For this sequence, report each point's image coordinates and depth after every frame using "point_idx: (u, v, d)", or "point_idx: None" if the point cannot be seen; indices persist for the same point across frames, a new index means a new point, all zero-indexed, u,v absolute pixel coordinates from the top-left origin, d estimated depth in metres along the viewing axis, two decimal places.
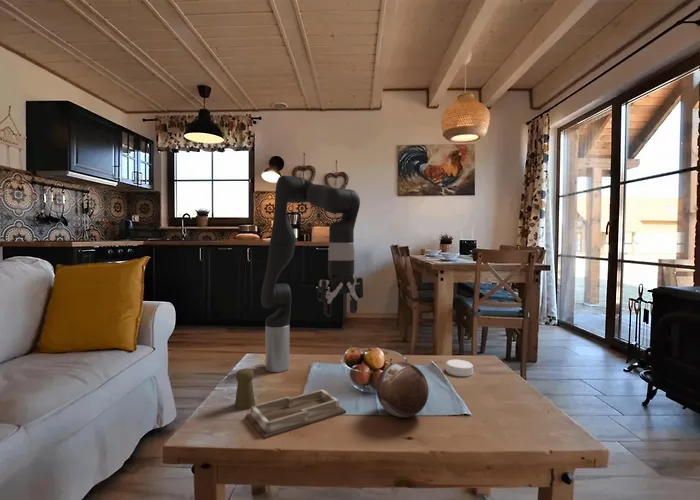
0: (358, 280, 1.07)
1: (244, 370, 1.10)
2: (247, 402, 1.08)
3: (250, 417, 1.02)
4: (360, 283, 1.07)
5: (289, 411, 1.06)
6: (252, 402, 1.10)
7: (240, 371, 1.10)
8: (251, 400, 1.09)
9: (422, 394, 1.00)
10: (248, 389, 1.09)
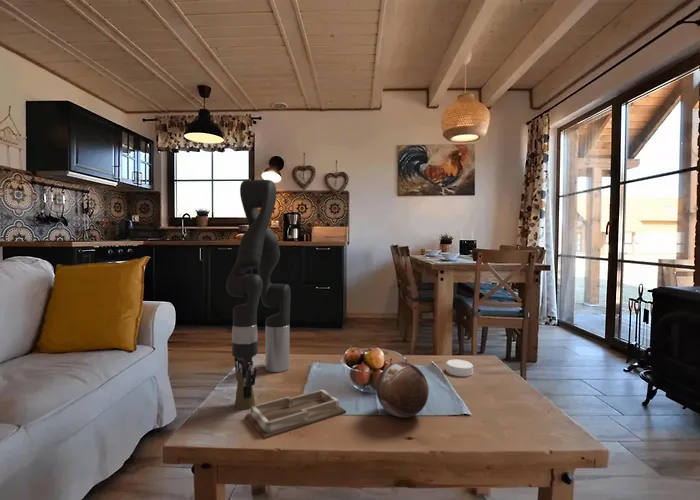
0: None
1: None
2: (246, 401, 1.09)
3: (250, 417, 1.02)
4: None
5: (289, 411, 1.06)
6: (252, 402, 1.10)
7: (240, 371, 1.10)
8: (251, 399, 1.09)
9: (422, 394, 1.00)
10: None
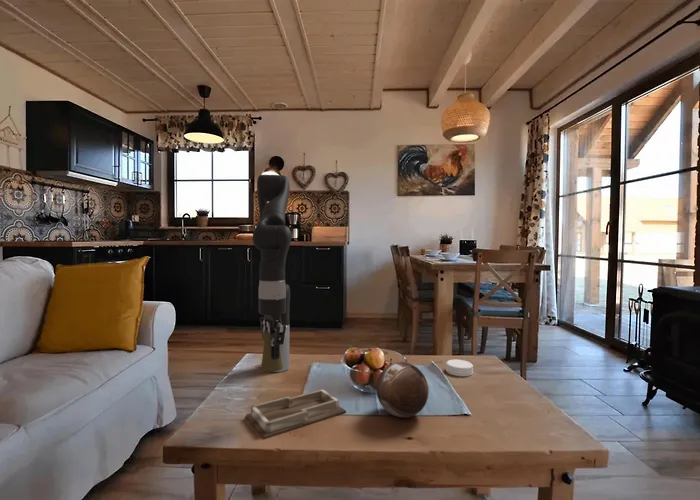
0: None
1: None
2: (274, 363, 1.00)
3: (250, 417, 1.02)
4: None
5: (289, 411, 1.06)
6: (280, 364, 1.01)
7: (267, 330, 1.01)
8: (278, 361, 1.01)
9: (422, 394, 1.00)
10: None
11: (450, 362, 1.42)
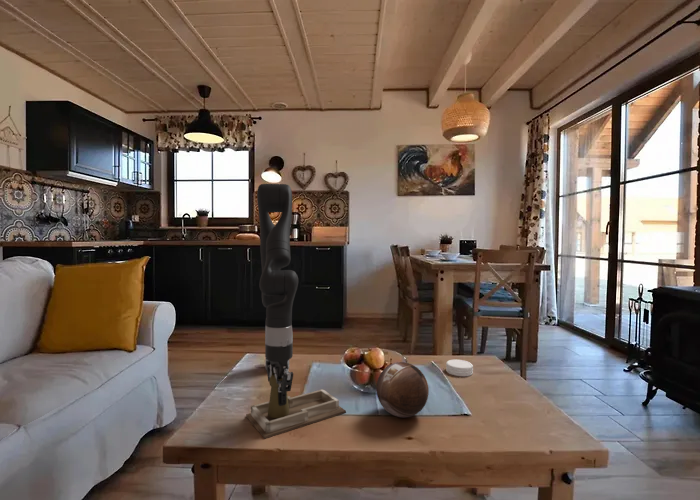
0: None
1: None
2: (281, 409, 1.00)
3: (250, 417, 1.02)
4: None
5: None
6: (287, 409, 1.01)
7: (274, 376, 1.01)
8: (285, 407, 1.01)
9: (422, 394, 1.00)
10: None
11: (450, 362, 1.42)
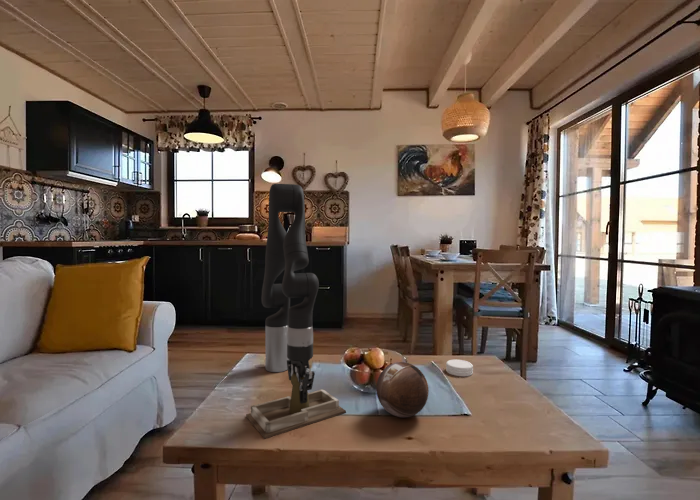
0: None
1: None
2: (302, 407, 1.04)
3: (250, 417, 1.02)
4: None
5: None
6: (307, 407, 1.05)
7: (295, 375, 1.05)
8: (306, 404, 1.05)
9: (422, 394, 1.00)
10: None
11: (450, 362, 1.42)
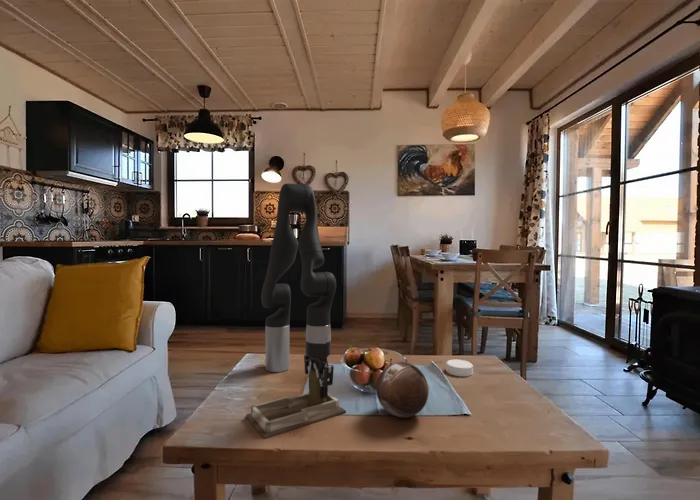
0: None
1: None
2: (320, 402, 1.07)
3: (250, 417, 1.02)
4: None
5: (289, 411, 1.06)
6: None
7: (313, 371, 1.09)
8: (324, 400, 1.08)
9: (422, 394, 1.00)
10: None
11: (450, 362, 1.42)
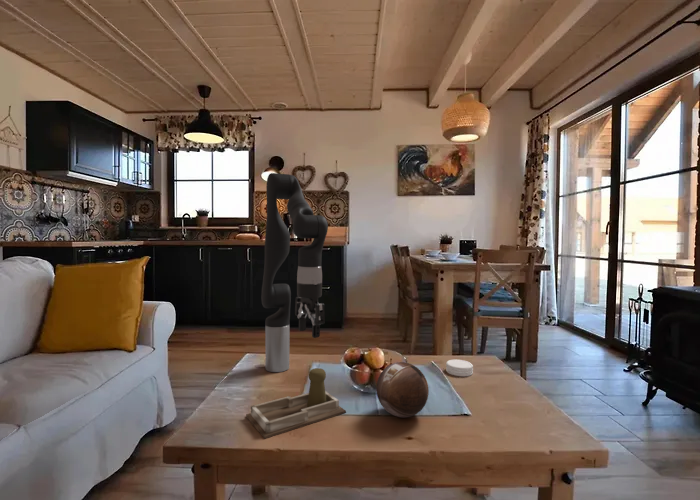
0: None
1: (317, 370, 1.09)
2: (320, 402, 1.07)
3: (250, 417, 1.02)
4: None
5: (289, 411, 1.06)
6: None
7: (313, 371, 1.09)
8: (324, 400, 1.08)
9: (422, 394, 1.00)
10: (322, 389, 1.08)
11: (450, 362, 1.42)
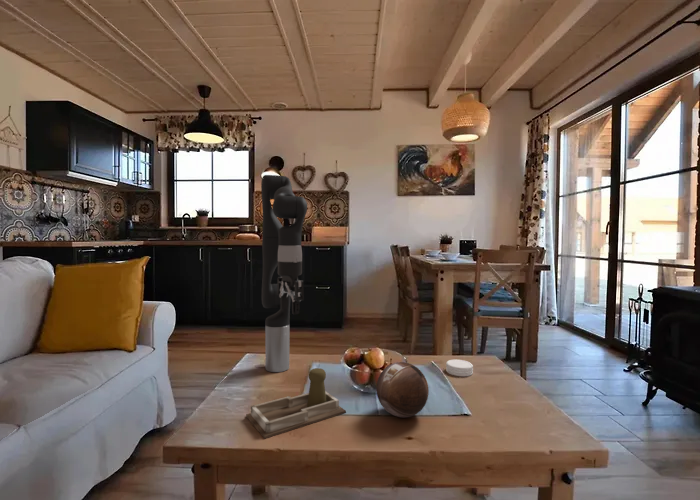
0: None
1: (317, 370, 1.09)
2: (320, 402, 1.07)
3: (250, 417, 1.02)
4: None
5: (289, 411, 1.06)
6: None
7: (313, 371, 1.09)
8: (324, 400, 1.08)
9: (422, 394, 1.00)
10: (322, 389, 1.08)
11: (450, 362, 1.42)
